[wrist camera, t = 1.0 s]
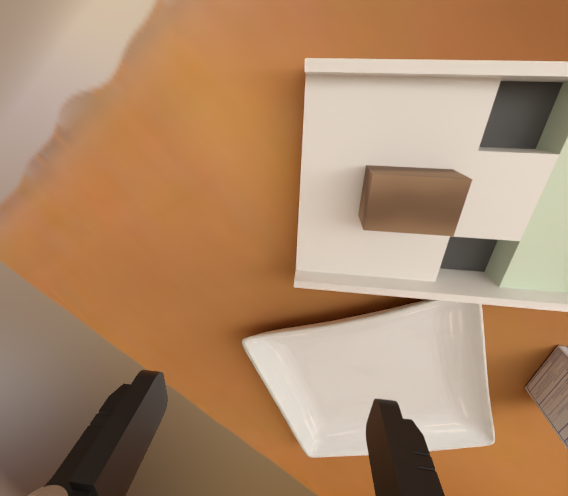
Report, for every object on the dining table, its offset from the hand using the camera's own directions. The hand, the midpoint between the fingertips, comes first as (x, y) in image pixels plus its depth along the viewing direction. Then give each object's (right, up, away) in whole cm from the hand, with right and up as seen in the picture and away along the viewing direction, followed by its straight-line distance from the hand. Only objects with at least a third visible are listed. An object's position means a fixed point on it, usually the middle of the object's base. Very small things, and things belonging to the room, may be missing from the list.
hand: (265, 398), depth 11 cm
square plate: (+13, -12, +29) cm, 34 cm away
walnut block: (+11, +10, +14) cm, 21 cm away
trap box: (+16, +11, +16) cm, 26 cm away
